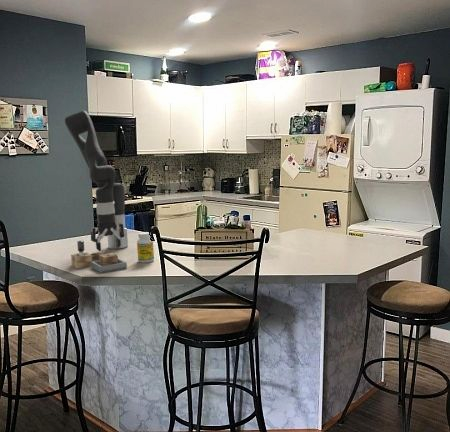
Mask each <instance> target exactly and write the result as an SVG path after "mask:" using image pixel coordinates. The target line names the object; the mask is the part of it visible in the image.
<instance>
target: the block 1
mask: <svg viewBox="0 0 450 432" xmlns="http://www.w3.org/2000/svg"><path fill="white" fill-rule="evenodd" d="M91 254H92V253H89V252H88V251H84V255H82V256H79V252H78V253H71V254H70V259H71V266H73V267H74V268H75V269H82V268H88V267H92V266H91V262H92V255H91Z"/></svg>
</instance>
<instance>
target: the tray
mask: <svg viewBox="0 0 450 432" xmlns="http://www.w3.org/2000/svg"><path fill="white" fill-rule="evenodd" d="M127 264H128V263H127V261H125V260H123V259H121V258H118V263H117V264H112V265H106V266H100V260H98V261H92V262H91V266H90V267H91V269H94V270H95V271H97V272H99V273H100V274H102V273H108V272H112V271H113V272H114V271H120V270H125V269H127V268H128V267H127V266H128V265H127Z"/></svg>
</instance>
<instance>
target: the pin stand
mask: <svg viewBox="0 0 450 432" xmlns="http://www.w3.org/2000/svg"><path fill="white" fill-rule="evenodd" d="M90 254H91V255H92V261H98V260H100V258H99V255H103V254H102V253H101V252H94V253H90Z"/></svg>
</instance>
